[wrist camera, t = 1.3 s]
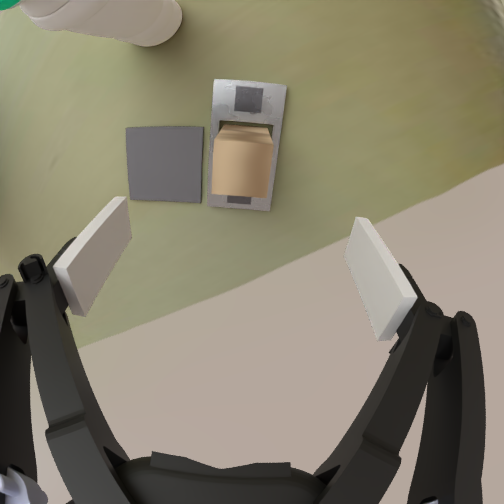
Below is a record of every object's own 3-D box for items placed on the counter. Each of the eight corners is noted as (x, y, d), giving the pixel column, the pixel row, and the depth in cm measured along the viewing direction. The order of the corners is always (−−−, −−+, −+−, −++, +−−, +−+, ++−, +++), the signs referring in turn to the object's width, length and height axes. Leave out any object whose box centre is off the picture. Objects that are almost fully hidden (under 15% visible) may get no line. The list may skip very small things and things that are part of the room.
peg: (222, 162, 32) (211, 193, 24) (224, 123, 30) (213, 140, 21) (262, 166, 33) (266, 198, 25) (267, 127, 30) (273, 145, 22)
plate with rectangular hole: (208, 202, 35) (207, 206, 34) (215, 79, 26) (214, 79, 25) (269, 207, 36) (269, 211, 35) (285, 85, 27) (286, 85, 26)
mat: (131, 198, 35) (130, 199, 35) (127, 127, 29) (125, 128, 29) (201, 201, 35) (200, 202, 35) (203, 126, 30) (203, 127, 29)
